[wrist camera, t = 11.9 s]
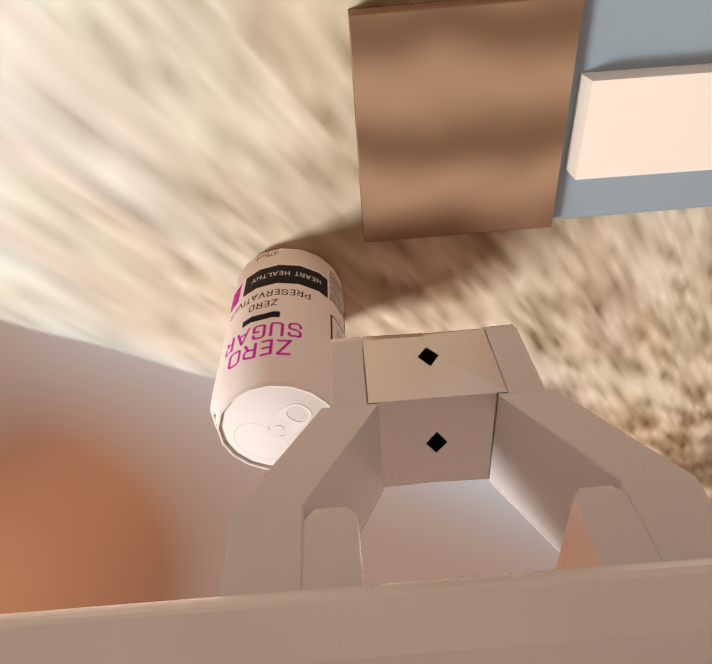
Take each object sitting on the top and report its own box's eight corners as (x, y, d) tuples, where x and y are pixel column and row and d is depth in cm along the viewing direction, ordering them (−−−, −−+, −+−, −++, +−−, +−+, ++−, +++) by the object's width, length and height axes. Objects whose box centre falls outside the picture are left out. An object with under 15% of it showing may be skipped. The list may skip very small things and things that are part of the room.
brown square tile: (347, 9, 34) (349, 16, 32) (569, -10, 34) (584, -4, 32) (362, 226, 42) (364, 242, 40) (540, 210, 42) (551, 226, 40)
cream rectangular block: (580, 72, 35) (592, 81, 34) (727, 62, 35) (747, 69, 34) (565, 168, 39) (575, 179, 37) (698, 158, 39) (714, 169, 37)
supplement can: (295, 348, 49) (286, 494, 37) (215, 291, 45) (177, 433, 33) (364, 288, 46) (379, 427, 34) (284, 222, 42) (268, 352, 30)
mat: (569, -10, 34) (578, -7, 33) (843, -34, 34) (862, -31, 33) (540, 210, 42) (546, 220, 41) (759, 192, 42) (772, 201, 41)
